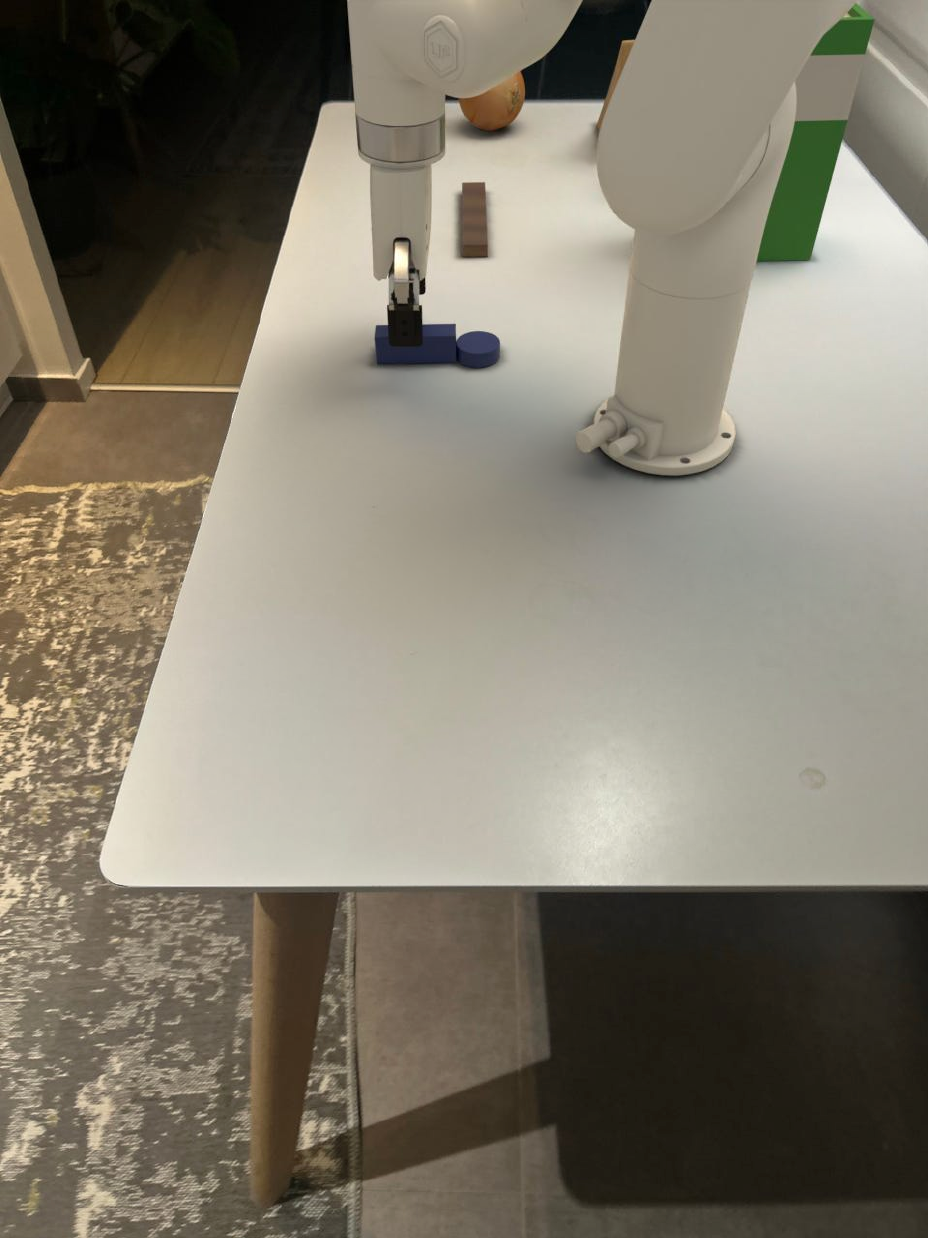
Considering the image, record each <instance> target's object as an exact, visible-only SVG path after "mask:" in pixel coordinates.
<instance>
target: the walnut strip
mask: <svg viewBox="0 0 928 1238" xmlns="http://www.w3.org/2000/svg"><path fill="white" fill-rule="evenodd" d="M486 193H487V192H486V182H485V181H482V182H481V181H477V182H475V181H474V182H473V181H472V182H471V181H470V182H469V181H468V182H467V181H466V182H462V183H461V237H462V238H461V242H462V243H461V251H462V252H461V254H462V256H461V257H462V258H479V257H480V258H481V257H482V258H483V257H486V258H487V257H488V256H489V240H488V239H489V237H488V216H487V215H488V214H487V194H486Z"/></svg>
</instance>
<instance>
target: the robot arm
mask: <svg viewBox="0 0 928 1238" xmlns="http://www.w3.org/2000/svg"><path fill="white" fill-rule="evenodd" d="M346 1H347V17H348V31H349V32H348V33H349V43H350V59H351V60H350V62H351V73H352V87H353V99H354V100H353V102H354V114H355V116H354V117H355V128H356V142H357V155H358V156H359V158H360V159H361V160H362V161H363V162H365V163H367V164H369V165H370V166H369V194H370V195H369V198H370V199H369V200H370V217H371V218H370V223H371V243H372V244H371V245H372V246H371V247H372V273H373V278H374V279H375V280H377V281H379V282H380V281H381V280H387V278H388V304H387V306H386V314H387V315H386V316H387V325H388V335H389V344H390V346H393V347H420V346H422V344H423V324H424V323H423V304H420V296H422V295H425V294H426V289H427V288H426V287H427V285H426V278H427V270H428V261H429V254H430V246H431V245H430V244H431V233H432V232H431V231H432V212H433V211H432V209H433V207H432V206H433V202H432V201H433V199H432V198H433V180H432V179H433V178H432V175H433V172H432V171H433V169H432V168H433V166H432V165H434V164H436V163H437V162H439V161H441V159H442V158H444V156H445V155H446V96H449V97H452V98H457V99H459V98H471V97H475V96H478V95H480V94H483V93H485V92H487V91H488V90H490V89H492V88H493V87H495V86H497V85H498V84H500V83H502V82H503V81H505V80H507V79H508V78H510V77H511V76H512V75H514V74H516V73H517V72H519V71H521V72H522V71H523V70H524V69H526V68H528V67H529V66H531V65H533V64H534V63H536V62H538V61H539V60H541V59H543V58H544V57H545V56H547V54H548V53H549V52H550V51H551V50H552V49H553V48H554V47H555V46H556V45H557V43H558V42H559V40H560V39H561V38H562V37H563V35H564V34H565V33H566V31H567V30H568V27H569V26H570V24H571V22H572V20H573V19H574V17H575V15H576V13H577V12H578V10H579V8H580V6H581V4H582V3H583V1H584V0H346ZM858 1H859V0H651V1H650V3H649V6H648V8H647V11H646V14H645V16H644V18H643V20H642V23H641V25H640V27H639V29H638V33H637V34H636V37H635V39H634V40H635V42H634V44H633V47H632V49H631V51H630V54H629V56H628V58H627V61H626V63H625V66H624V68H623V70H622V73H621V75H620V78H619V80H618V82H617V85H616V87H615V90H614V92H613V94H612V97H611V99H610V102H609V104H608V107H607V110H606V112H605V115H604V118H603V121H602V125H601V128H600V132H599V131H598V138H597V143H596V152H595V153H596V156H595V157H596V160H595V162H596V173H597V178H598V183H599V186H600V190H601V192H602V195H603V197H604V199H605V201H606V203H607V204H608V206H609V208H610V209H611V211H612V213H614V215H615V216H616V217H617V218H618V219H619V220H620V221H621V222H622V223H623V224H625V225H627V226H628V227H630V228H631V229H633V230H634V233H633V239H632V245H631V246H632V247H631V254H630V262H629V267H628V275H627V284H626V293H625V301H624V309H623V316H622V317H623V318H622V326H621V334H620V342H619V352H618V361H617V366H616V367H617V368H616V376H615V384H614V393H613V395H612V396H611V395H610V396H609V397H608V398H607V399H605V400H604V401H603V402H602V403H600V405H599V407H598V408H597V409H596V412H595V414H594V417H593V424H591V425H589V426H587V427H585V428H584V429H583V428H582V430H580V431H578V432H577V433H576V434H575V438H574V441H575V443H576V446H577V448H578V450H580V451H581V452H582V453H583V454H584V453H585V454H589V453H590V452H592V451H594V450H595V449H597V448H600V449H601V450H602V452H603V453H604V454H606V455H607V456H608V457H609V458H611V460H613V461H616V462H617V463H619V464H621V465H623V466H624V467H627V468H629V469H632V470H634V471H639V472H642V473H645V474H650V475H657V476H671V477H672V476H673V477H674V476H676V477H677V476H685V475H692V474H697V473H702V472H704V471H706V470H709V469H712V468H714V467H715V466H717V465H718V464H720V463H722V462H723V461H724V460H725V459H726V458H727V457H728V456H729V455H730V453H731V451H732V450H733V448H734V443H735V440H736V425H735V423H734V420H733V418H732V417H731V415H730V414H729V412H728V411H727V410H726V409H725V408H724V405H725V401H726V396H727V393H728V387H729V384H730V379H731V374H732V370H733V365H734V361H735V356H736V352H737V348H738V343H739V339H740V335H741V330H742V326H743V321H744V316H745V311H746V308H747V304H748V298H749V294H750V290H751V285H752V281H753V279H754V274H755V269H756V266H757V262H758V261H757V257H758V252H759V248H760V243H761V239H762V235H763V231H764V227H765V224H766V220H767V216H768V212H769V209H770V206H771V202H772V199H773V196H774V192H775V189H776V186H777V183H778V180H779V176H780V173H781V170H782V167H783V164H784V161H785V158H786V154H787V151H788V148H789V144H790V140H791V136H792V132H793V128H794V122H795V116H796V103H797V98H796V85H795V80H796V78H797V77H798V75H799V73H800V72H801V70H802V68H803V66H804V65H805V63H806V61H807V60H808V58H809V56H810V55H811V53H812V51H813V50H814V48H815V47H816V45H817V44H818V42H819V41H820V39H821V38H822V36H823V35H824V34H825V33H826V32H827V31H828V30H830V29H831V28H832V27H833V26H834V25H835V24H836V23H837V22H838V21H839V20H841V19H842V18H843V17H844V16H845V15H846V14H847V13H848V11H849V10H850V9H851V8H852V7H853V6H854V4H855V3H858Z"/></svg>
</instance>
